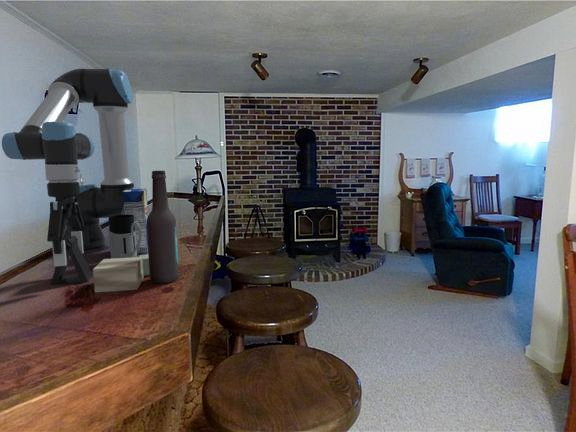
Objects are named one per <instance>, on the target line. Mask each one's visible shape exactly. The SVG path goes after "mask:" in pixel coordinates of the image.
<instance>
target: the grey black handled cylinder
mask: <svg viewBox="0 0 576 432" xmlns="http://www.w3.org/2000/svg"><path fill="white" fill-rule="evenodd" d="M107 219H108V237H109V239H108V241H109V249H110V251H109V252H110V259H113V258H132V257H138V254H137V248H138V247H139V245H140V242H141V227H140V225H139V223H137V222H134V215H129V214H124V215H113V216H109V217H108V218H107ZM134 224H137V226H138V228H139V240H138V244H137V246H136V231H135V225H134Z"/></svg>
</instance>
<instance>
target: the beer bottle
mask: <svg viewBox="0 0 576 432" xmlns="http://www.w3.org/2000/svg"><path fill="white" fill-rule="evenodd" d="M151 179H152V183H151V184H152V186H151V187H152V189H151V190H152V191H151V193H152V197H151V201H152V207H151V211H150V213H148V218H147V240H148V253H147V254H148V257H149V273H150V275H149V279H150V282H152V283H153V284H169V283H172V282H175V281H177V280H178V279H179V257H178V256H179V255H178V254H179V253H178V235H177V233H178V232H177V223H176V217H175V214H174V213H173V212H172V211H171V210H170V207H169V201H168V190H167V182H166V179H167V176H166V171H165V170H152V171H151Z"/></svg>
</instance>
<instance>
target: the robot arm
mask: <svg viewBox="0 0 576 432" xmlns="http://www.w3.org/2000/svg"><path fill="white" fill-rule="evenodd" d="M133 97H134V96H133V91H132V86H131V82H130V80H129V77H128V75H127V74H126V72H124V71H123V70H121V69H113V68H76V69H72V70H69V71H67V72H65V73H63V74H61V75H59V77H57V78H55V79H54V81H52V82H51V83H50V84H49V86H48V88H47V95H46V96H45V97H44V99H43V100H42V101H41V103H40V104H39V105H38V106H37V108H36V109H35V111H34V112H33V113H32V115H31V116H30V117H29V118H28V120H27V122H25V124H24V125H23V126H22V128H21V129H20V131H19V132H16V131H13V132H7V133H5V134H3V136H2V137H1V148H2V151H3V153H4V155H5V156H6V157H8V158H9V159H11V160H23V161H26V160H28V161H29V160H44V164H45V166H44V168H45V169H44V170H45V180H46V181H48V183H47V184H46V189H47V196H48V197H50V198H55V201H50V202H49V217H48V218H49V220H48V228H47V238H46V240H47V242H51V245H52V255H53V257H52V258H53V267H56V266H66V265H67V266H68V262H67V260H66V249H65V240H64V239H65V238H67V237H68V236H70V237H69V238H71V237H72V236H75V237H77V239H78V247H79V249H80V251H81V253H82V255H83V254H84V250H90V249H95V248H99V247H102V246H105V245H106V244H107V238H106V235H105V233H104V231H103V229H102V226H101V225H100V219H108V217H109V216H113V215H124V208H123V193H122V192H123V191H124V190H126V189H140V188H139V187H137V186H135V183H134V181H133V180H132V179H131V178H130V175H129V172H130V171H129V160H128V148H127V147H128V146H127V136H126V125H125V124H126V123H125V113H126V112H127V110H128V109H129V105H130V104H132V103H133ZM78 104H92V106H93V107H92V108H93V109H94V110H95V111H96V112H97V113H98V122H99V123H98V125H99V134H100V144H101V146H100V147H101V157H102V158H101V159H102V165H103V166H102V167H103V168H102V169H103V176H104V177H103V180H102V181H101V182H100V185H99V186H100V187H98V185H97V184H96V183H90V184H82V185H80V182H78V180H79V179H80V177H79V173H80V172H81V169H80V168H79V164H78V163H79V162H78V160H80V161H81V160H82V161H83V160H85V159H89V158H91V157H92V156H93V154H94V152H95V147H96V146H95V143H94V140H93V139H92V138H91V137H90V136H89V135H86V134H84V133H83V132H76V127H75V124H73V123H72V122H69V121H68V122H67V121H64V120H65V118H67V115H68V114H69V112H70V111H71V109H74V108H75V107H77V106H78ZM128 104H129V105H128ZM69 238H68V239H69ZM68 239H67V240H68ZM67 242H68V244H70V245H71V243H70V242H69V241H67Z"/></svg>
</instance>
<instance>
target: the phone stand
mask: <svg viewBox="0 0 576 432" xmlns="http://www.w3.org/2000/svg"><path fill="white" fill-rule="evenodd" d="M69 237H70V236H68V237H67V238H65V239H64V240H65V249H66V260H67V263H68V260H69V257H70V258H71V261H72V264H73V267H74V269H75V271H76V273H77V275H67V276H66V271H67V267H68V264H67V265H66V266H55V269H54V272H53V275H52V279H51V281H50V285H52V286H56V285H57V286H58V285H68V284H69V285H70V284H81V283H82V284H83V283H88V282H89V280H90V278H92V276H93V273H92V272H93V271H92V270H91V268H90V267H89V264H88V263H87V261H86V259H85V257H84V255H83V254H82V253H81V251H80V249H79V247H78V239H77V237H75V236H72V237H71V238H69ZM68 238H69V239H68ZM67 239H68V240H67ZM67 241H69V242H70V243H71V245H70V244H68V242H67Z"/></svg>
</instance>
